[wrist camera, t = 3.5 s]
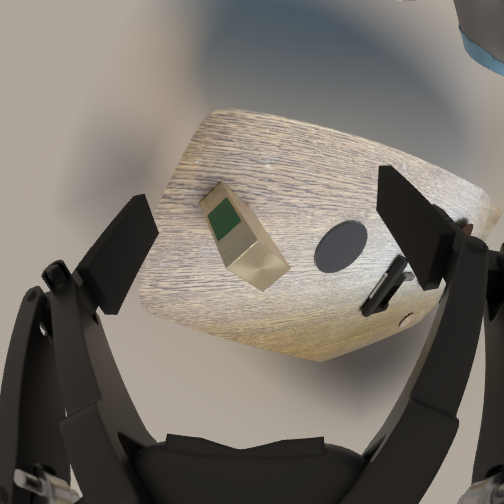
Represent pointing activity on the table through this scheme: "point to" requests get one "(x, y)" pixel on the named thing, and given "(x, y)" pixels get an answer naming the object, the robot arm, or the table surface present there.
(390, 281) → the door handle
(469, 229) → the plate
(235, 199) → the tea tin
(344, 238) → the coaster
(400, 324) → the flatbread
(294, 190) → the table surface
